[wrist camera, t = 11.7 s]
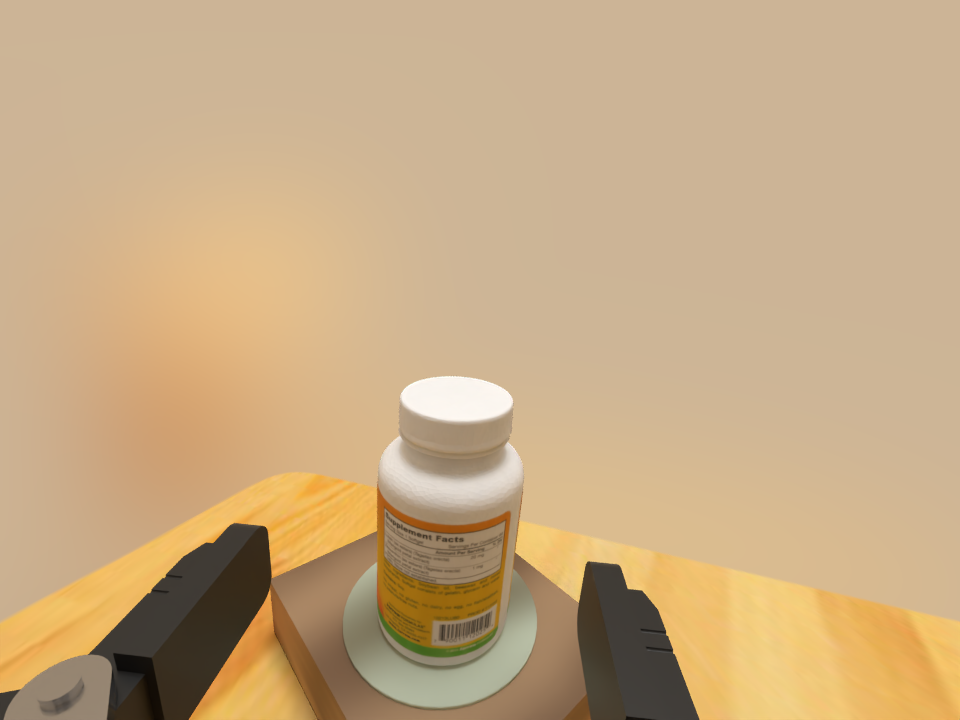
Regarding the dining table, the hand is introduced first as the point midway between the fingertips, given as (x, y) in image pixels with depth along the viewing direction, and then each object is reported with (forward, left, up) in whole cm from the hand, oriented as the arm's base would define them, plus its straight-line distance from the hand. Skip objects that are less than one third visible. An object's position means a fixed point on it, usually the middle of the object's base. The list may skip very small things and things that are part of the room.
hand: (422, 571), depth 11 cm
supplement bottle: (+4, -4, -7) cm, 9 cm away
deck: (+4, -4, -10) cm, 12 cm away
